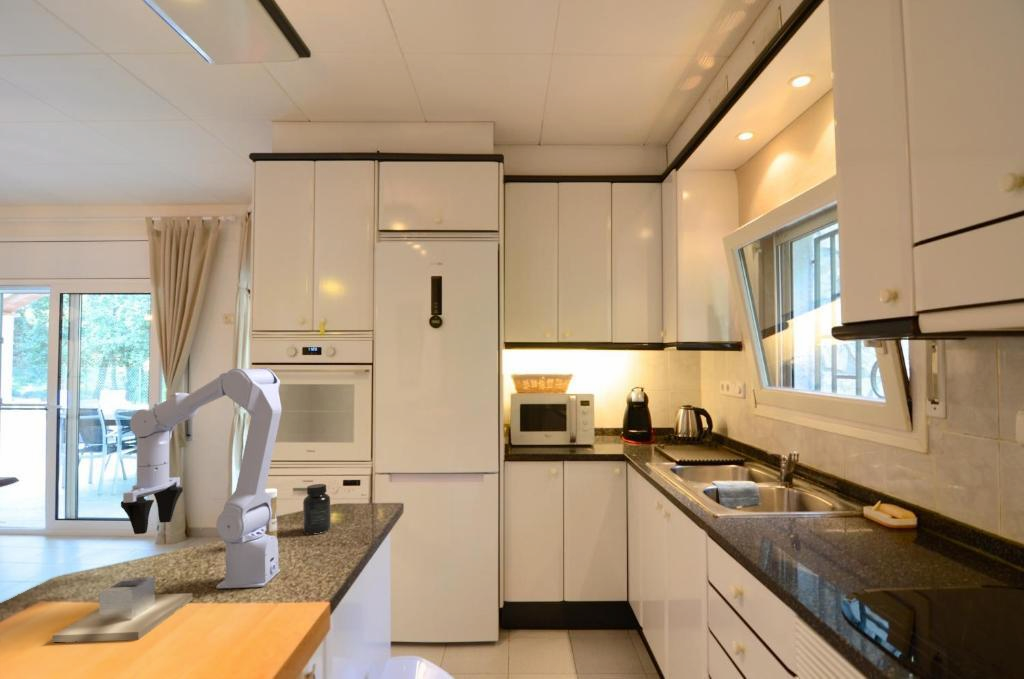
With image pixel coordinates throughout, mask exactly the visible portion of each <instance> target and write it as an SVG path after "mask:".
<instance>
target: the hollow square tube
mask: <svg viewBox="0 0 1024 679" xmlns="http://www.w3.org/2000/svg"><path fill="white" fill-rule="evenodd" d="M98 593H99V595H98V596H99V598H98V599H99V600H98V602H99V606H98V608H99V621H118V620H132V619H134V618H135V617H137V616H138V615H140V614H141V613H143V612H144V611H146V610H147V609H149V608H150V607H152V606H153V605H155V595H156V594H155V593H156V577H155V576H139V577H138V576H136V577H123V578H121V579H120V580H117V581H116V582H114V583H113V584H111V585H109V586H107V587H105V588H104V589H101V590H99V592H98Z"/></svg>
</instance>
